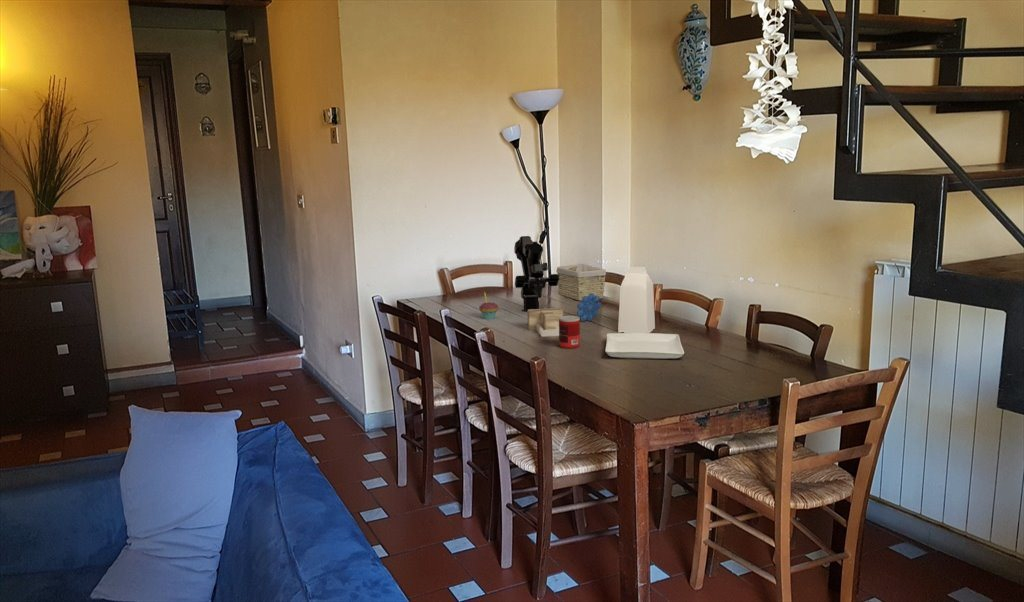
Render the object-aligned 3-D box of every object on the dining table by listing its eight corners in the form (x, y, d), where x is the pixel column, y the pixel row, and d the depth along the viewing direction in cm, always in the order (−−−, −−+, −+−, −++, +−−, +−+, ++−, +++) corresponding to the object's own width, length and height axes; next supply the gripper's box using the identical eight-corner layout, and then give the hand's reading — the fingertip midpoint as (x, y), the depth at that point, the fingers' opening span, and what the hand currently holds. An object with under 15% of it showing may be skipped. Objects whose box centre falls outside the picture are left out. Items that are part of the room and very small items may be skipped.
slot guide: (536, 330, 311) (536, 324, 311) (556, 329, 312) (556, 323, 312) (541, 336, 300) (541, 330, 300) (561, 335, 301) (561, 329, 301)
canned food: (582, 344, 287) (581, 316, 285) (576, 349, 279) (576, 320, 277) (562, 343, 289) (562, 315, 287) (556, 348, 282) (556, 319, 280)
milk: (618, 332, 304) (618, 268, 299) (626, 326, 315) (626, 263, 310) (647, 334, 299) (648, 269, 294) (655, 328, 310) (655, 265, 305)
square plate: (605, 361, 265) (605, 350, 264) (606, 341, 291) (606, 332, 290) (684, 362, 261) (684, 351, 260) (678, 342, 287) (678, 332, 287)
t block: (528, 328, 315) (527, 309, 313) (561, 326, 317) (560, 307, 315) (533, 336, 301) (533, 316, 300) (568, 334, 303) (568, 314, 301)
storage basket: (555, 294, 388) (555, 266, 385) (583, 291, 394) (582, 263, 391) (578, 302, 366) (578, 272, 364) (607, 299, 373) (607, 269, 370)
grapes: (596, 317, 332) (595, 290, 329) (603, 320, 326) (603, 293, 323) (572, 320, 327) (572, 293, 325) (579, 323, 321) (579, 295, 319)
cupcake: (476, 319, 334) (475, 292, 332) (484, 315, 342) (483, 289, 339) (494, 320, 331) (493, 293, 328) (501, 316, 338) (501, 290, 336)
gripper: (515, 257, 325) (519, 287, 317) (557, 255, 327) (563, 285, 319) (512, 272, 334) (517, 302, 326) (554, 270, 337) (559, 299, 328)
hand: (539, 297), depth 325 cm, fingers closed
